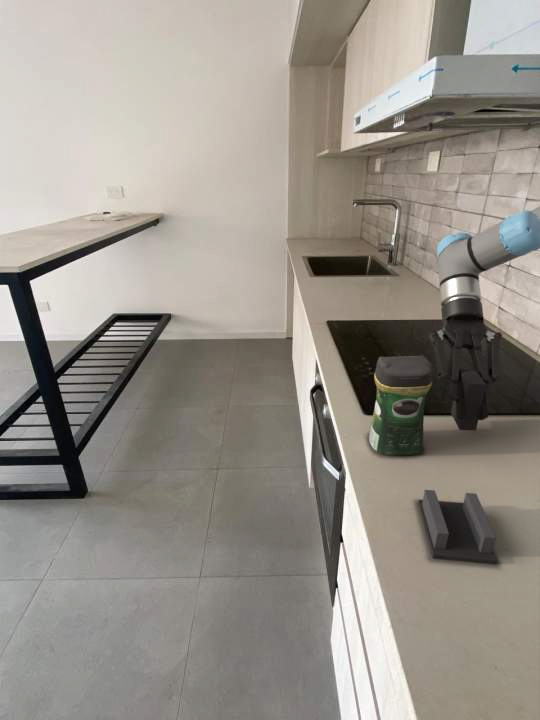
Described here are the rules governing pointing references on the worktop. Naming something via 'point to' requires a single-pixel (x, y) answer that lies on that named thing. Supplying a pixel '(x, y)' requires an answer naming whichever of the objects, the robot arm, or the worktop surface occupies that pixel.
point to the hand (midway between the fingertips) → (472, 417)
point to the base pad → (457, 529)
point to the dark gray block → (470, 399)
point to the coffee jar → (400, 405)
